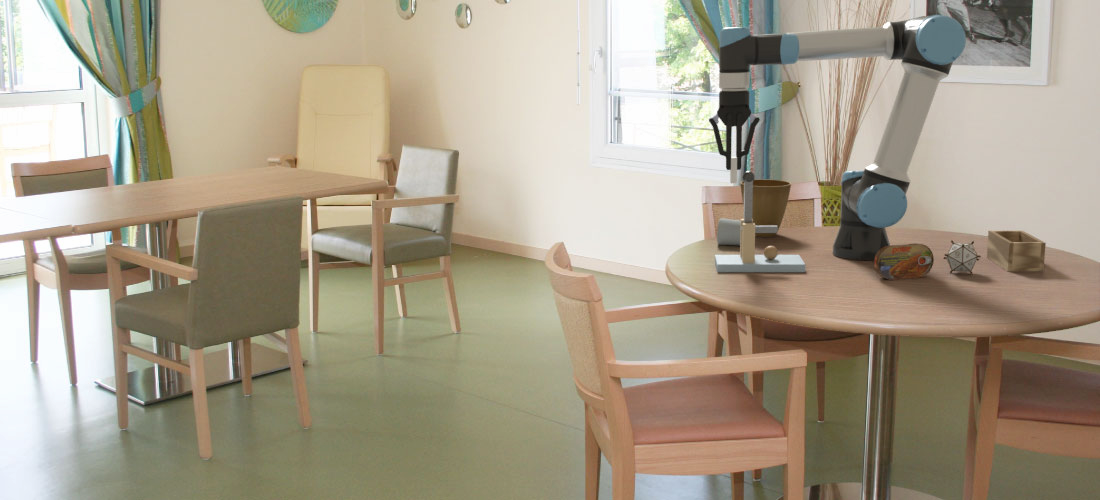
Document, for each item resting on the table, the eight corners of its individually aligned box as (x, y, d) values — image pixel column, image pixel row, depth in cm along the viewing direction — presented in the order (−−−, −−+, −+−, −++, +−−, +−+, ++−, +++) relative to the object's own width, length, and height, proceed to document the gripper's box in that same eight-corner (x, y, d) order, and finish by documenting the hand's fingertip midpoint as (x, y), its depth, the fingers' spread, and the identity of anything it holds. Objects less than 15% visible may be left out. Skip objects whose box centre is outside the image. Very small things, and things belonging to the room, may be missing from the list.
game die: (964, 286, 258) (988, 253, 258) (967, 281, 250) (991, 248, 250) (933, 266, 261) (956, 234, 261) (934, 261, 253) (958, 227, 253)
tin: (878, 281, 250) (879, 247, 248) (871, 278, 253) (872, 244, 251) (933, 276, 253) (935, 243, 251) (926, 274, 256) (928, 241, 254)
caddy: (1020, 257, 272) (1022, 230, 271) (1043, 271, 256) (1045, 242, 254) (986, 257, 273) (988, 230, 272) (1007, 271, 257) (1009, 243, 255)
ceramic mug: (745, 247, 292) (745, 221, 291) (716, 246, 295) (716, 220, 293) (749, 241, 302) (750, 215, 301) (721, 240, 305) (722, 214, 303)
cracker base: (798, 262, 272) (799, 217, 270) (805, 272, 261) (806, 225, 258) (714, 262, 275) (715, 217, 272) (717, 272, 263) (717, 225, 261)
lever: (776, 233, 267) (777, 170, 264) (777, 236, 264) (779, 171, 260) (740, 233, 268) (741, 170, 265) (741, 236, 265) (742, 172, 261)
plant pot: (739, 239, 305) (740, 185, 301) (739, 230, 319) (740, 178, 316) (791, 239, 302) (792, 185, 299) (788, 230, 316) (789, 178, 313)
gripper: (759, 88, 262) (757, 180, 267) (707, 89, 264) (707, 180, 268) (762, 89, 255) (760, 184, 260) (708, 91, 256) (708, 185, 261)
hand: (733, 182), depth 264 cm, fingers closed
